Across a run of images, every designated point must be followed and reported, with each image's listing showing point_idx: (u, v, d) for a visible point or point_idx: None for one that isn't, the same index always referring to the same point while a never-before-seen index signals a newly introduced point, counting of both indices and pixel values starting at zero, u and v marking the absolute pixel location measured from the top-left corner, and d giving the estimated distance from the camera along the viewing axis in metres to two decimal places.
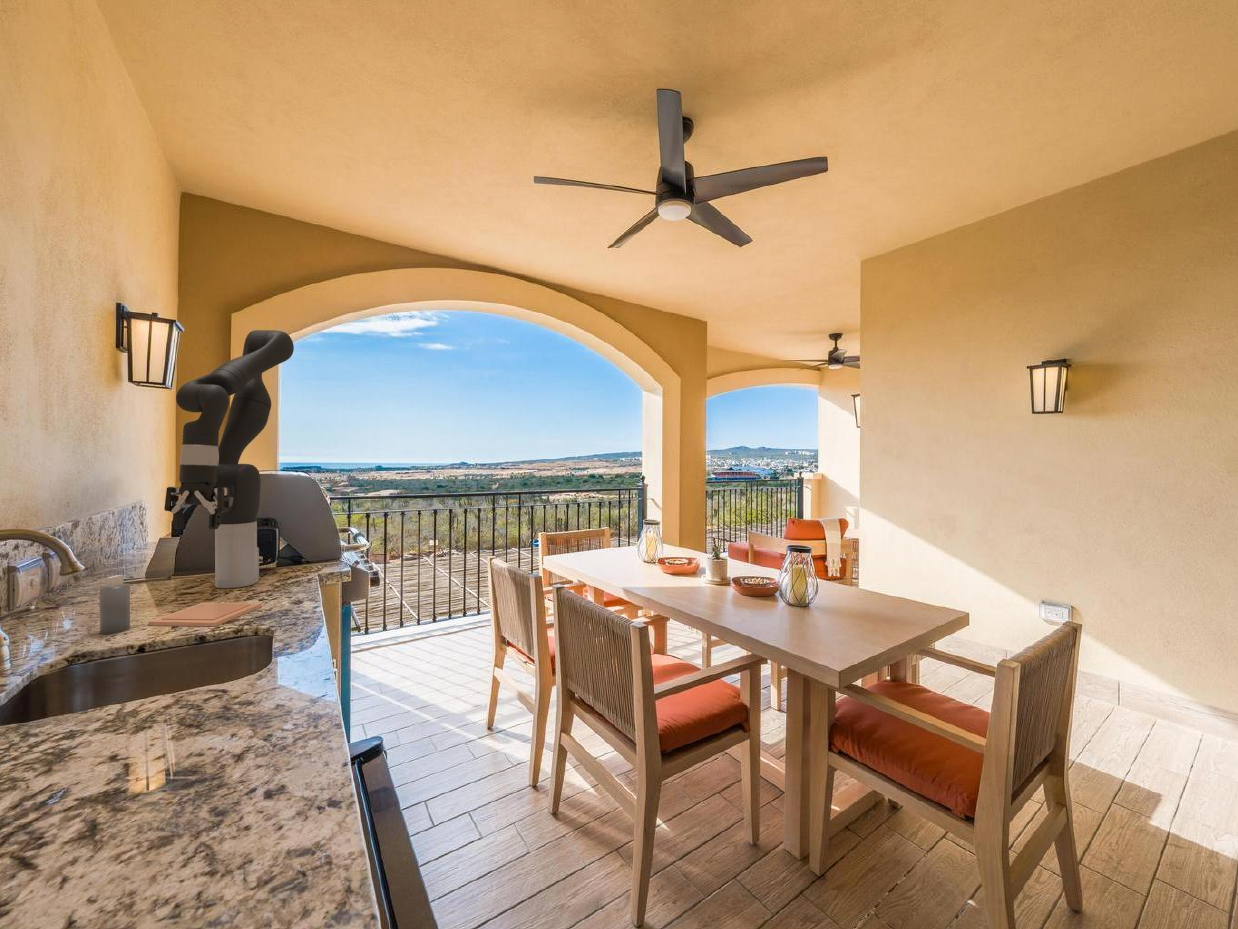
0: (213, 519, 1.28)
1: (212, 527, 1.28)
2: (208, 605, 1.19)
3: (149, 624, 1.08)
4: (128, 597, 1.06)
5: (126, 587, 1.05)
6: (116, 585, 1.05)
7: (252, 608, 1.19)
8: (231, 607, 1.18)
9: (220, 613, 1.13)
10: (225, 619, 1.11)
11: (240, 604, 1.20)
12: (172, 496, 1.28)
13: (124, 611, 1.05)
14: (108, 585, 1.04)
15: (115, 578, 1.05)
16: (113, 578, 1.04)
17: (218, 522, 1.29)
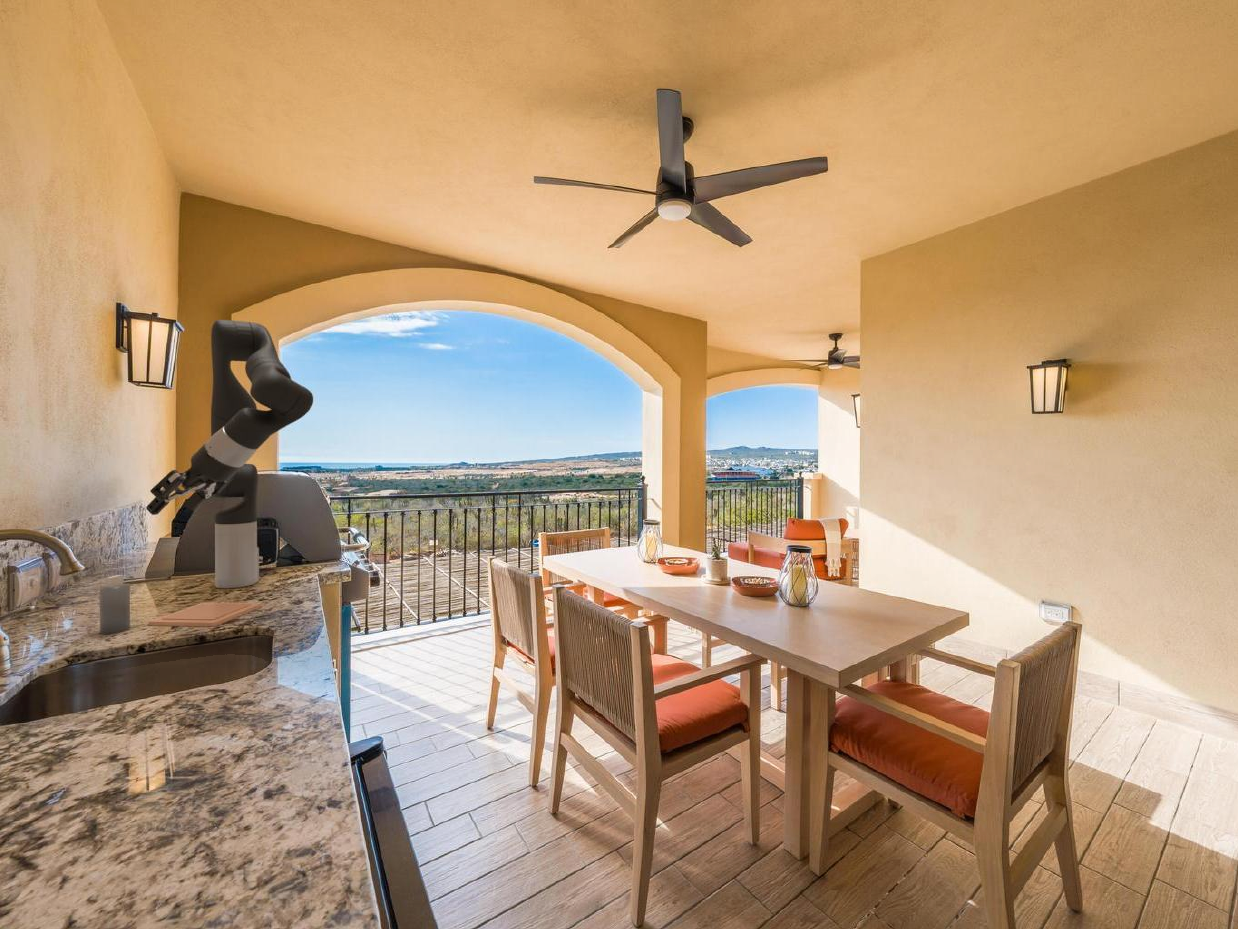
0: None
1: None
2: (208, 605, 1.19)
3: (149, 624, 1.08)
4: (128, 597, 1.06)
5: (126, 587, 1.05)
6: (116, 585, 1.05)
7: (252, 608, 1.19)
8: (231, 607, 1.18)
9: (220, 613, 1.13)
10: (225, 619, 1.11)
11: (240, 604, 1.20)
12: None
13: (124, 611, 1.05)
14: (108, 585, 1.04)
15: (115, 578, 1.05)
16: (113, 578, 1.04)
17: None
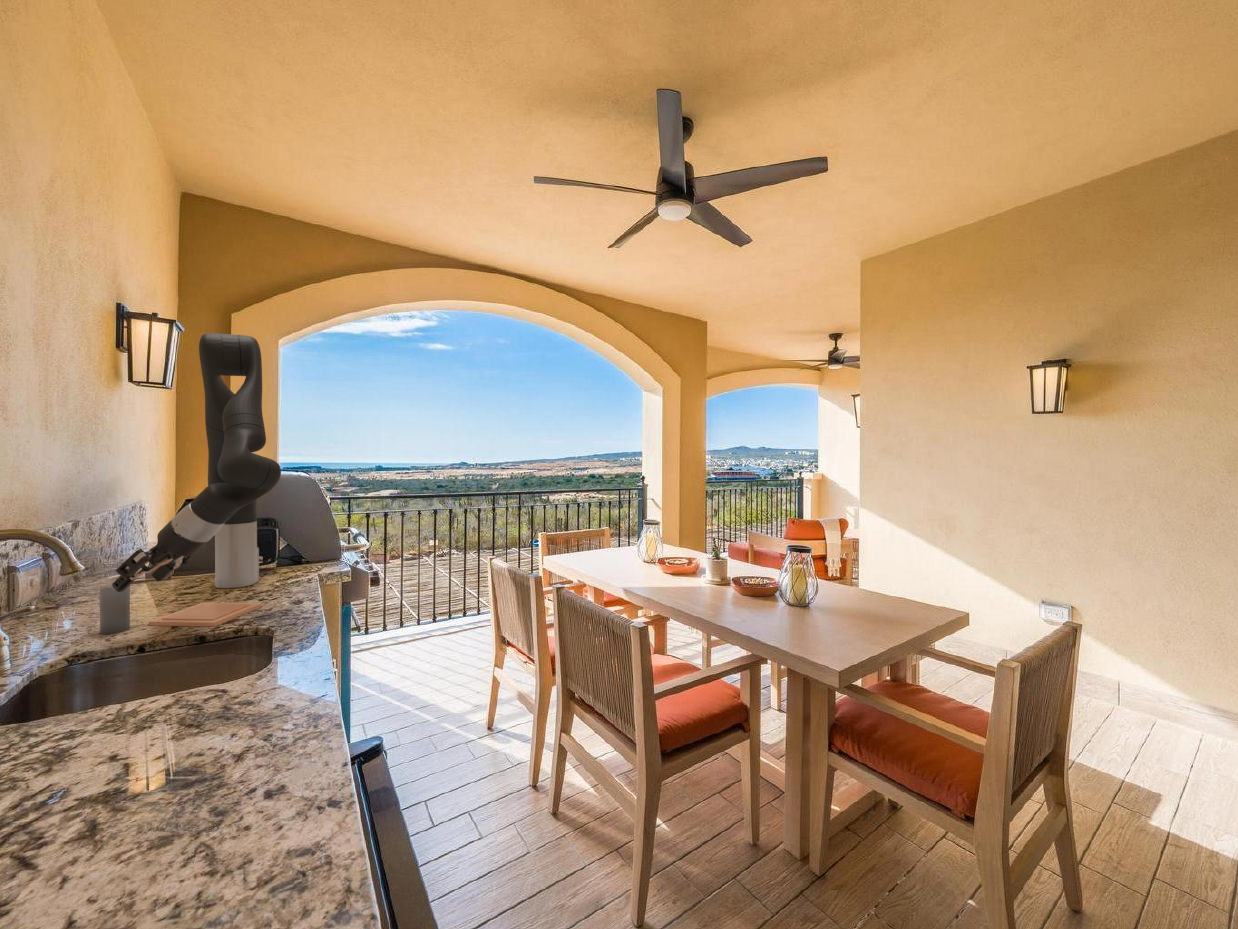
0: None
1: None
2: (208, 605, 1.19)
3: (149, 624, 1.08)
4: (128, 597, 1.06)
5: None
6: None
7: (252, 608, 1.19)
8: (231, 607, 1.18)
9: (220, 613, 1.13)
10: (225, 619, 1.11)
11: (240, 604, 1.20)
12: None
13: (124, 611, 1.05)
14: (108, 585, 1.04)
15: (115, 578, 1.05)
16: (113, 578, 1.04)
17: None
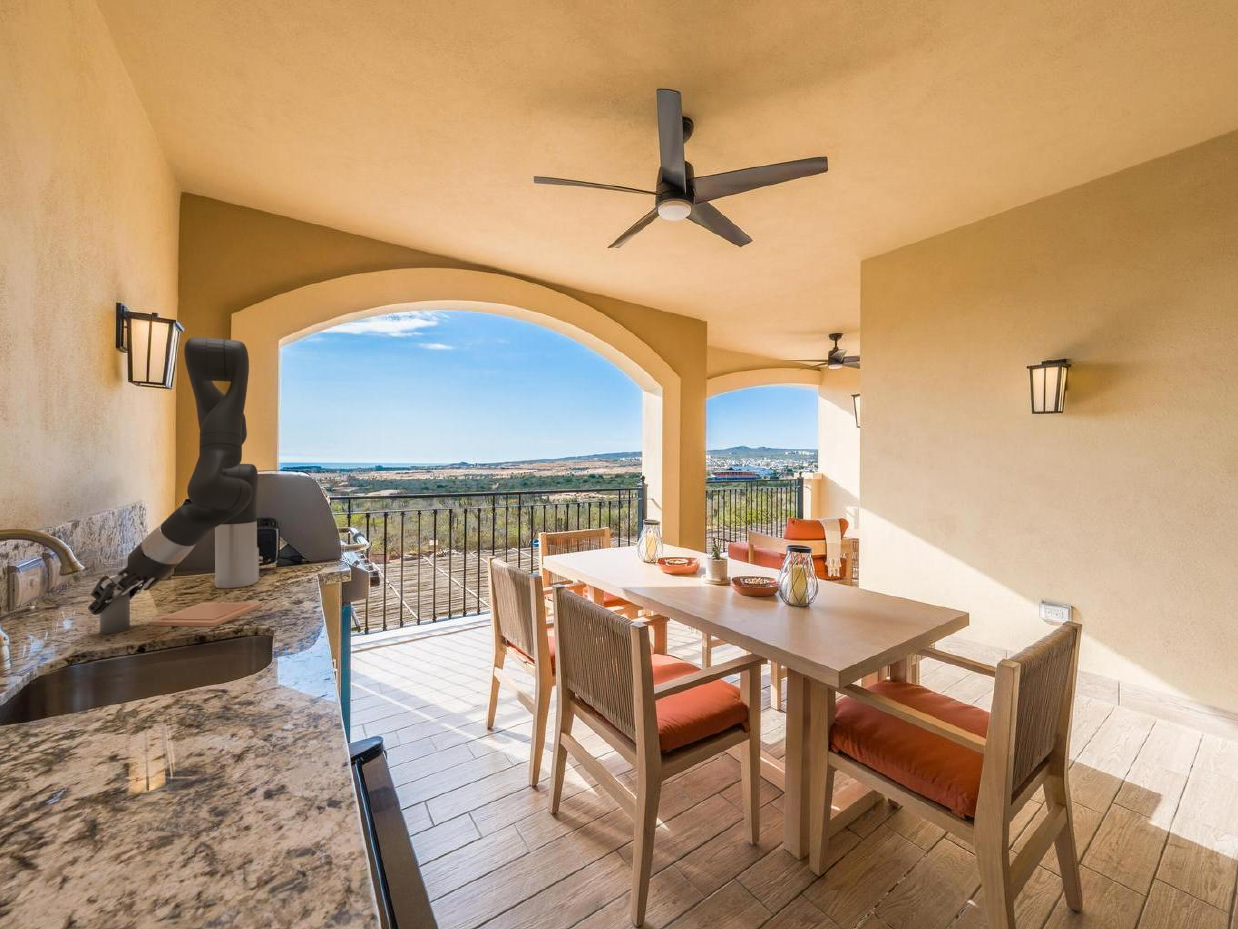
0: (130, 597, 1.08)
1: None
2: (208, 605, 1.19)
3: (149, 624, 1.08)
4: (128, 597, 1.06)
5: None
6: None
7: (252, 608, 1.19)
8: (231, 607, 1.18)
9: (220, 613, 1.13)
10: (225, 619, 1.11)
11: (240, 604, 1.20)
12: None
13: (124, 611, 1.05)
14: None
15: None
16: None
17: None
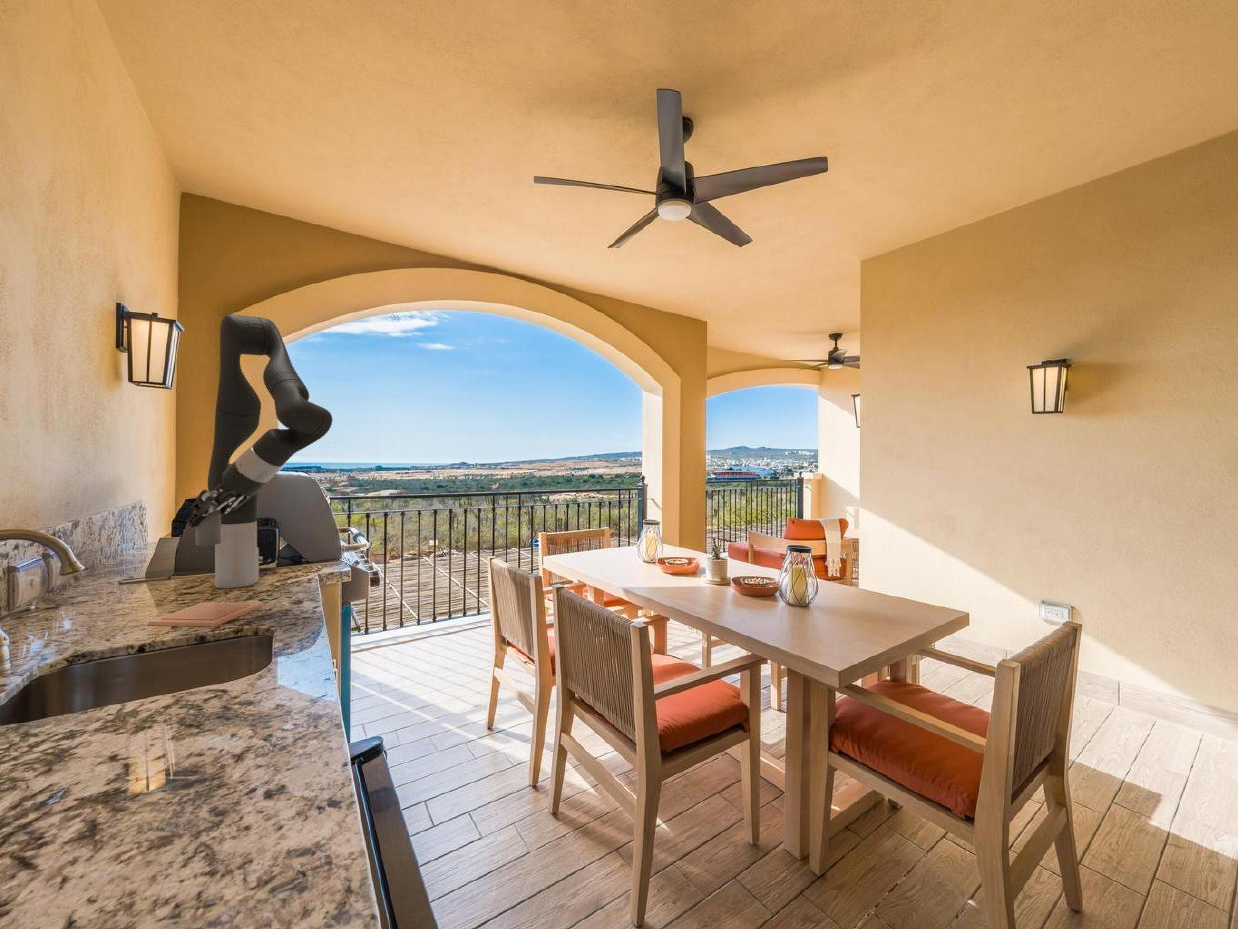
0: None
1: None
2: (208, 605, 1.19)
3: (149, 624, 1.08)
4: (220, 514, 1.15)
5: None
6: None
7: (252, 608, 1.19)
8: (231, 607, 1.18)
9: (220, 613, 1.13)
10: (225, 619, 1.11)
11: (240, 604, 1.20)
12: None
13: (217, 526, 1.14)
14: None
15: None
16: None
17: None
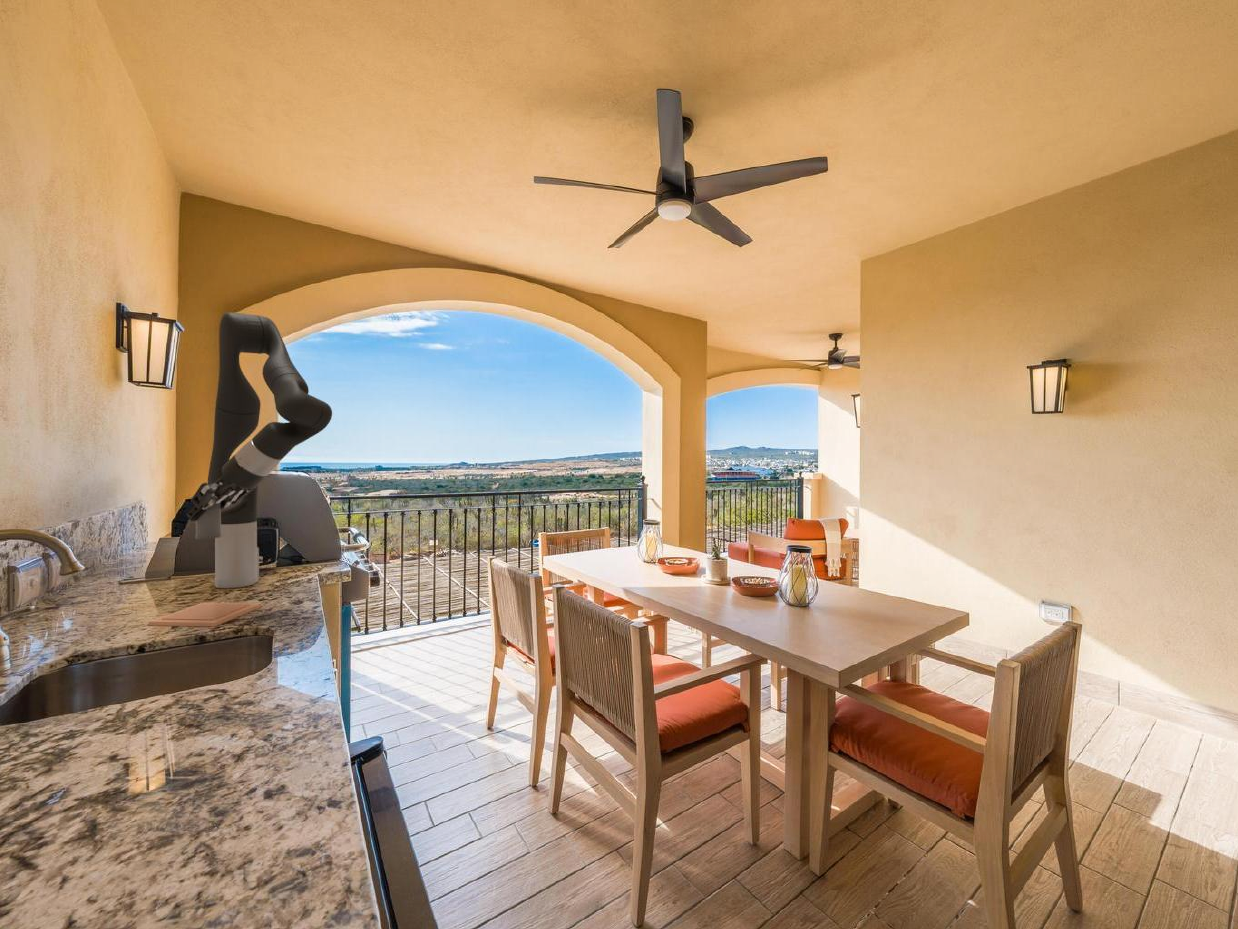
0: None
1: None
2: (208, 605, 1.19)
3: (149, 624, 1.08)
4: (220, 507, 1.15)
5: None
6: None
7: (252, 608, 1.19)
8: (231, 607, 1.18)
9: (220, 613, 1.13)
10: (225, 619, 1.11)
11: (240, 604, 1.20)
12: None
13: (217, 520, 1.14)
14: None
15: None
16: None
17: None
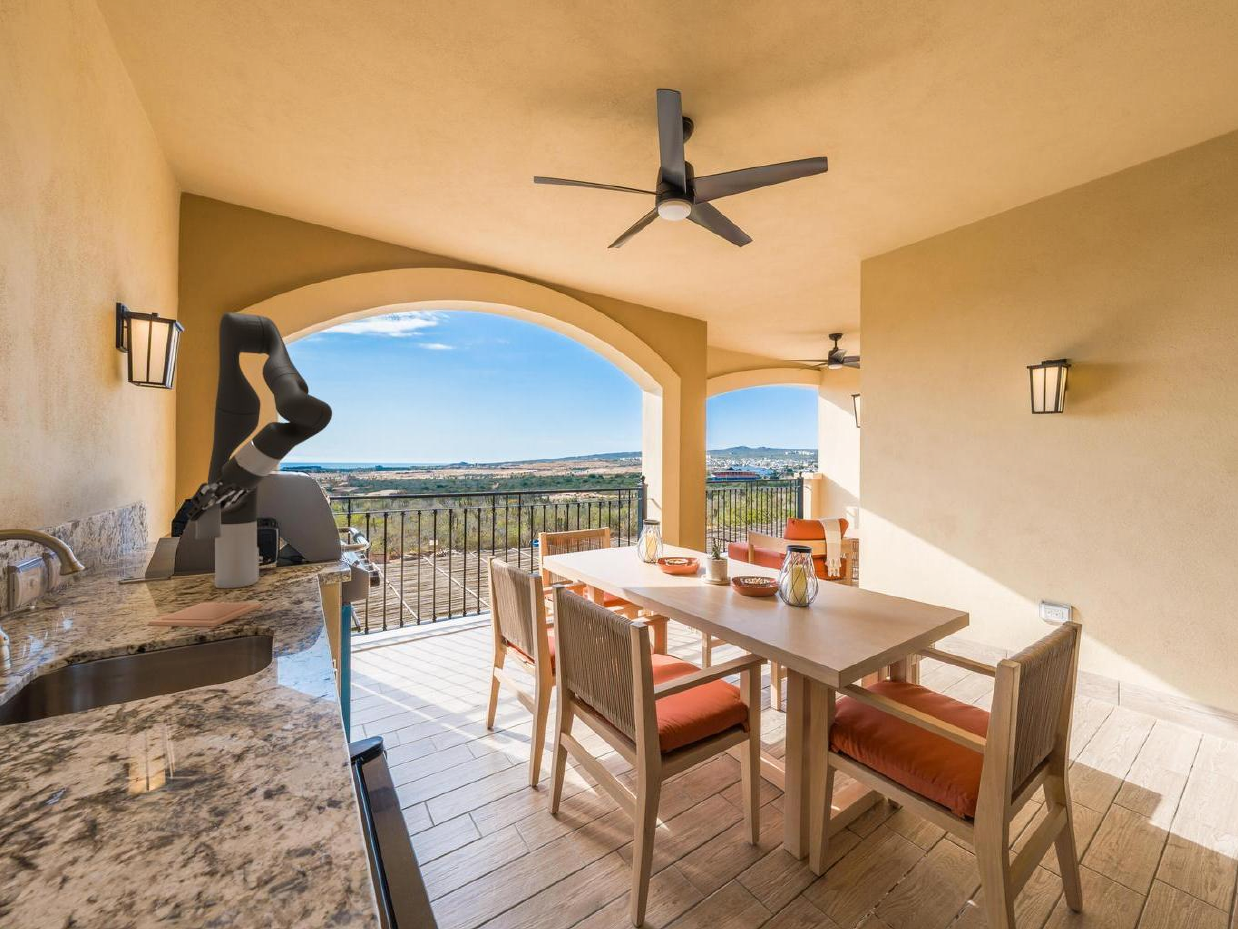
0: None
1: None
2: (208, 605, 1.19)
3: (149, 624, 1.08)
4: (220, 507, 1.15)
5: None
6: None
7: (252, 608, 1.19)
8: (231, 607, 1.18)
9: (220, 613, 1.13)
10: (225, 619, 1.11)
11: (240, 604, 1.20)
12: None
13: (217, 520, 1.14)
14: None
15: None
16: None
17: None
